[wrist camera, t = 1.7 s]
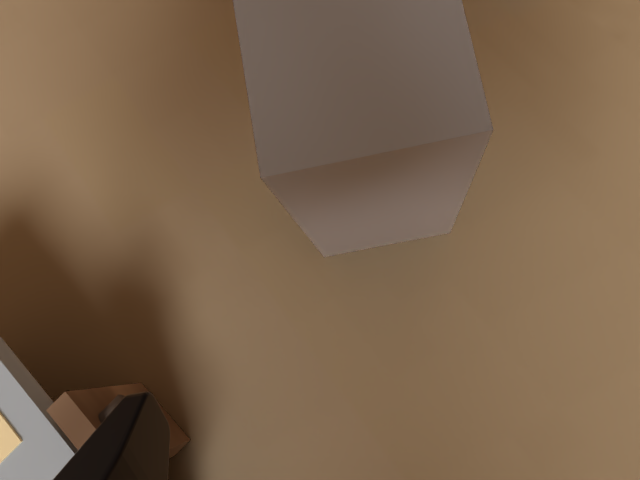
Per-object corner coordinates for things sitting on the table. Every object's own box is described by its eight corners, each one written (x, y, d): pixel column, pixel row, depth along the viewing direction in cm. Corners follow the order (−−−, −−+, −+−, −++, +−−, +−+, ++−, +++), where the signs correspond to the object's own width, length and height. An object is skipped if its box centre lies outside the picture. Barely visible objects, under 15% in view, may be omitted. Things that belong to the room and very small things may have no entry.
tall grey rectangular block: (450, 233, 23) (493, 129, 12) (324, 256, 24) (260, 178, 13) (424, 113, 24) (443, -77, 13) (303, 139, 25) (228, -25, 14)
